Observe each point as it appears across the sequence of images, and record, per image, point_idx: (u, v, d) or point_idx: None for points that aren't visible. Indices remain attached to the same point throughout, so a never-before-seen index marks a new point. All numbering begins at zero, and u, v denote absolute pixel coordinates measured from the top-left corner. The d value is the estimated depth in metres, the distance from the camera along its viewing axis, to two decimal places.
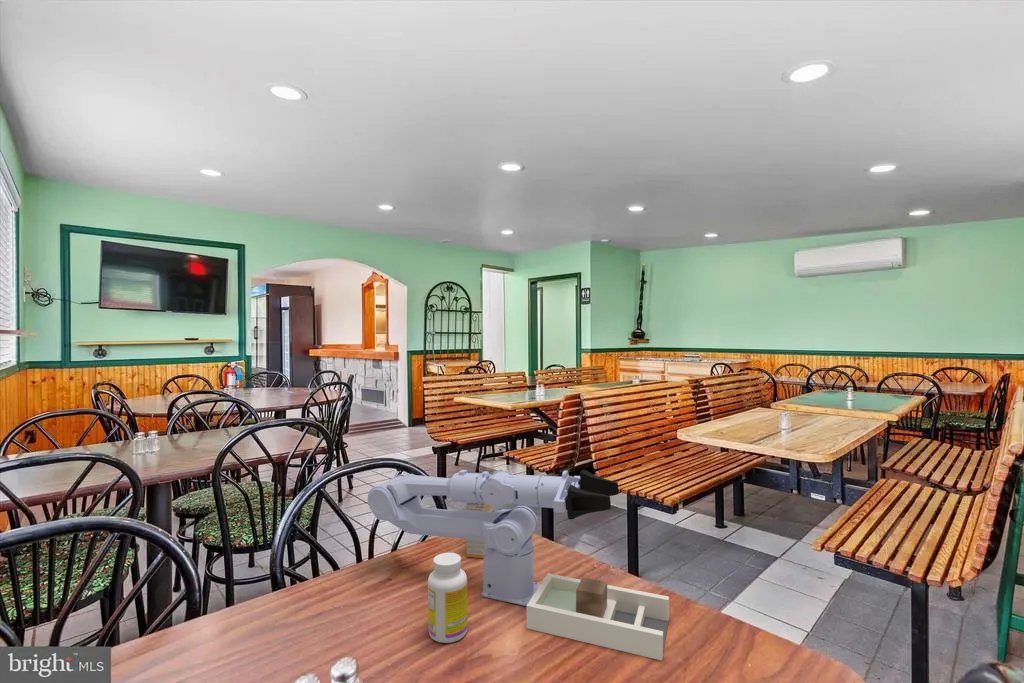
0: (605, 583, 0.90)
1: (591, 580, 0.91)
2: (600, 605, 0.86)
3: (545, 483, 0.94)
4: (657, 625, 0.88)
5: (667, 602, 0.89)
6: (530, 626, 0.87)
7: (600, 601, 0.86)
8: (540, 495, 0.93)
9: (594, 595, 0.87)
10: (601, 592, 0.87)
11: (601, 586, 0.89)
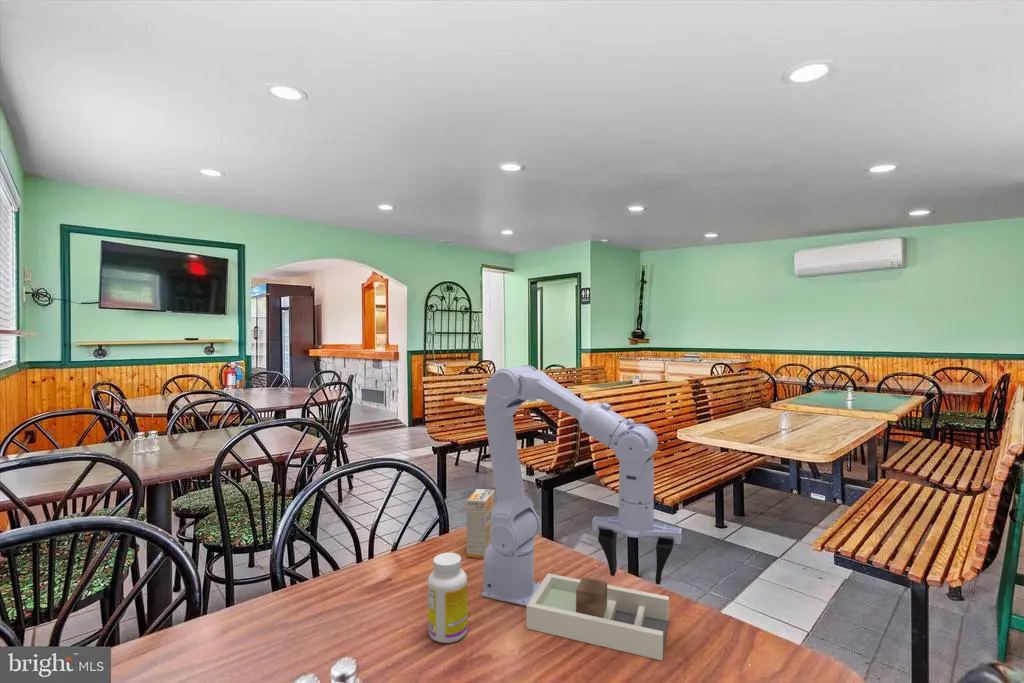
0: (605, 583, 0.90)
1: (591, 580, 0.91)
2: (600, 605, 0.86)
3: (623, 509, 0.84)
4: (657, 625, 0.88)
5: (667, 602, 0.89)
6: (530, 626, 0.87)
7: (600, 601, 0.86)
8: None
9: (594, 595, 0.87)
10: (601, 592, 0.87)
11: (601, 586, 0.89)
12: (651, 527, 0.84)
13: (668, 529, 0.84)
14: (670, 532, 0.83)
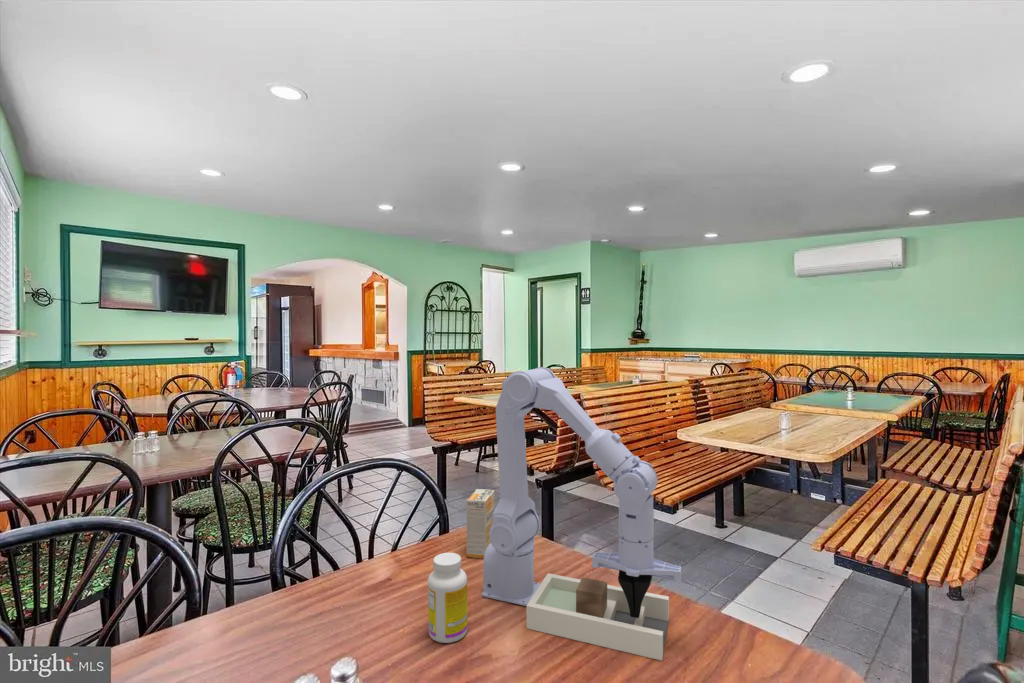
0: (605, 583, 0.90)
1: (591, 580, 0.91)
2: (600, 605, 0.86)
3: (622, 547, 0.84)
4: (657, 625, 0.88)
5: (667, 602, 0.89)
6: (530, 626, 0.87)
7: (600, 601, 0.86)
8: None
9: (594, 595, 0.87)
10: (601, 592, 0.87)
11: (601, 586, 0.89)
12: (651, 565, 0.84)
13: (668, 567, 0.84)
14: (670, 571, 0.83)
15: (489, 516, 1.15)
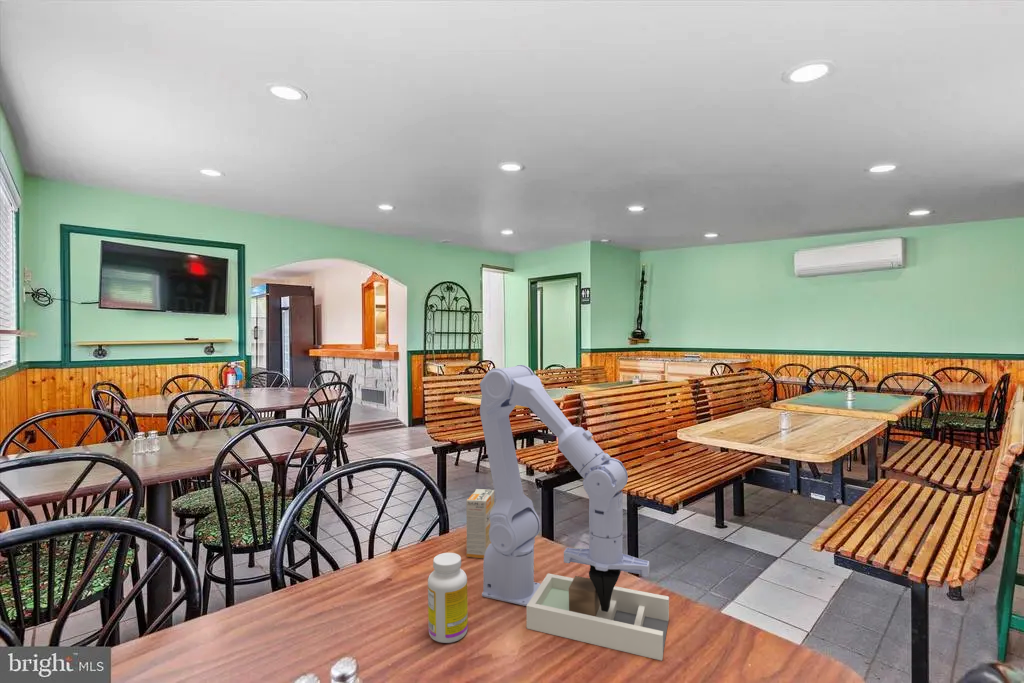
0: None
1: (584, 579, 0.91)
2: (593, 603, 0.87)
3: (592, 542, 0.86)
4: (657, 625, 0.88)
5: (667, 602, 0.89)
6: (530, 626, 0.87)
7: (593, 599, 0.87)
8: None
9: (587, 593, 0.87)
10: (593, 590, 0.87)
11: (593, 584, 0.89)
12: (620, 560, 0.86)
13: (636, 562, 0.86)
14: (638, 565, 0.85)
15: None
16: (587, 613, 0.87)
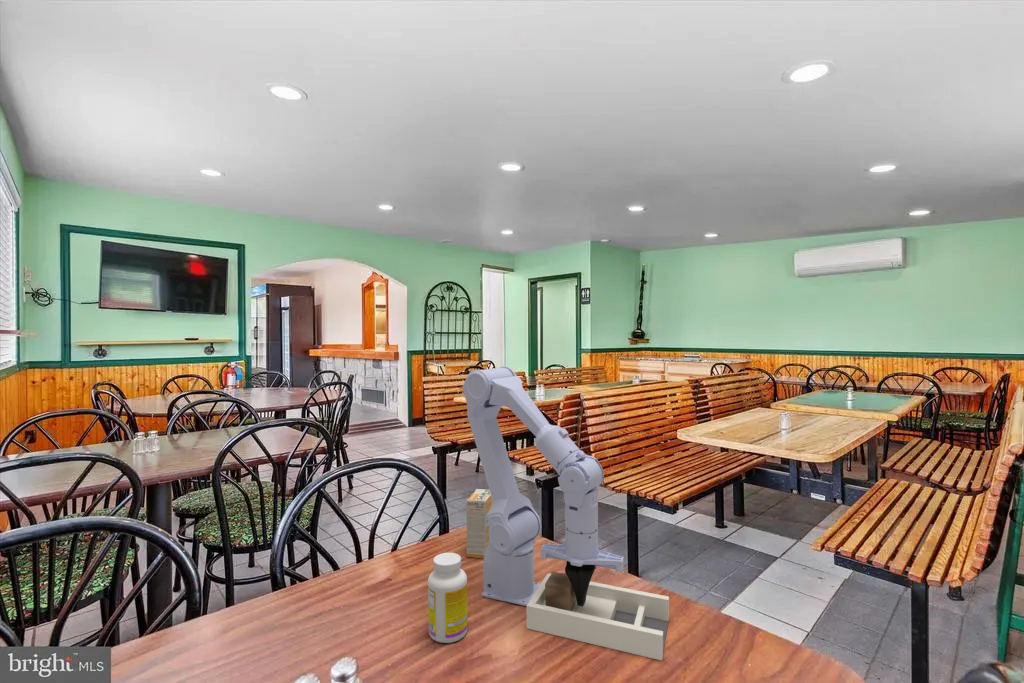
0: None
1: (561, 574, 0.93)
2: (568, 598, 0.88)
3: (568, 538, 0.88)
4: (657, 625, 0.88)
5: (667, 602, 0.89)
6: (530, 626, 0.87)
7: (568, 594, 0.88)
8: None
9: (563, 589, 0.89)
10: (569, 585, 0.89)
11: (569, 580, 0.91)
12: (595, 556, 0.88)
13: (611, 557, 0.87)
14: (612, 561, 0.86)
15: None
16: (563, 608, 0.89)
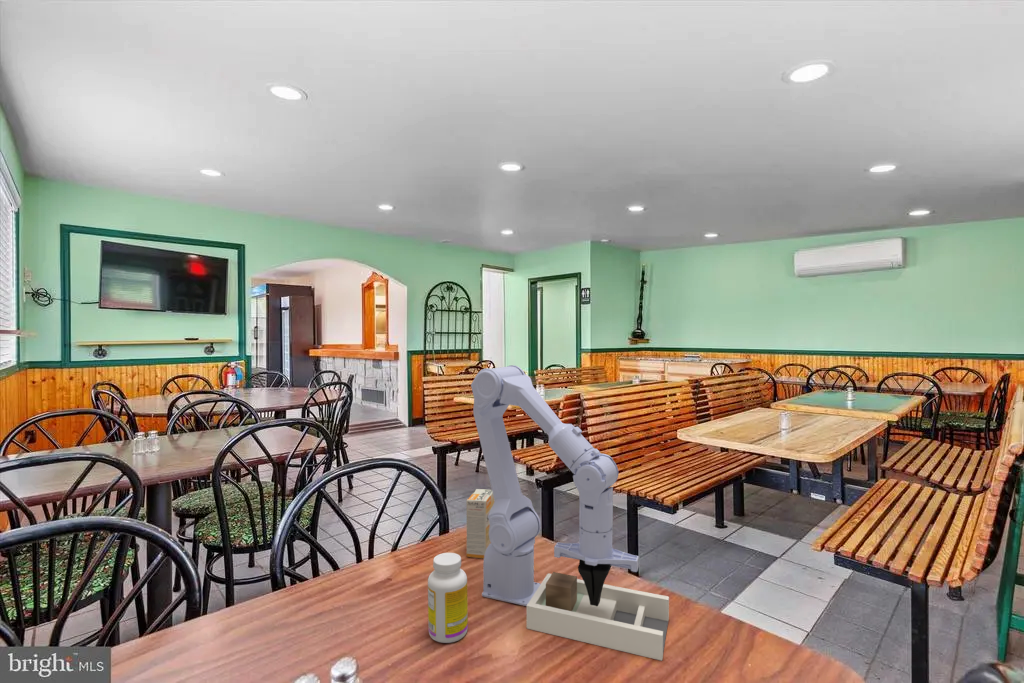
0: (575, 577, 0.92)
1: (561, 575, 0.93)
2: (569, 599, 0.88)
3: (582, 537, 0.87)
4: (657, 625, 0.88)
5: (667, 602, 0.89)
6: (530, 626, 0.87)
7: (569, 595, 0.88)
8: (579, 527, 0.89)
9: (563, 589, 0.88)
10: (569, 586, 0.89)
11: (570, 580, 0.91)
12: (609, 555, 0.87)
13: (626, 557, 0.86)
14: (627, 560, 0.85)
15: None
16: (563, 608, 0.89)
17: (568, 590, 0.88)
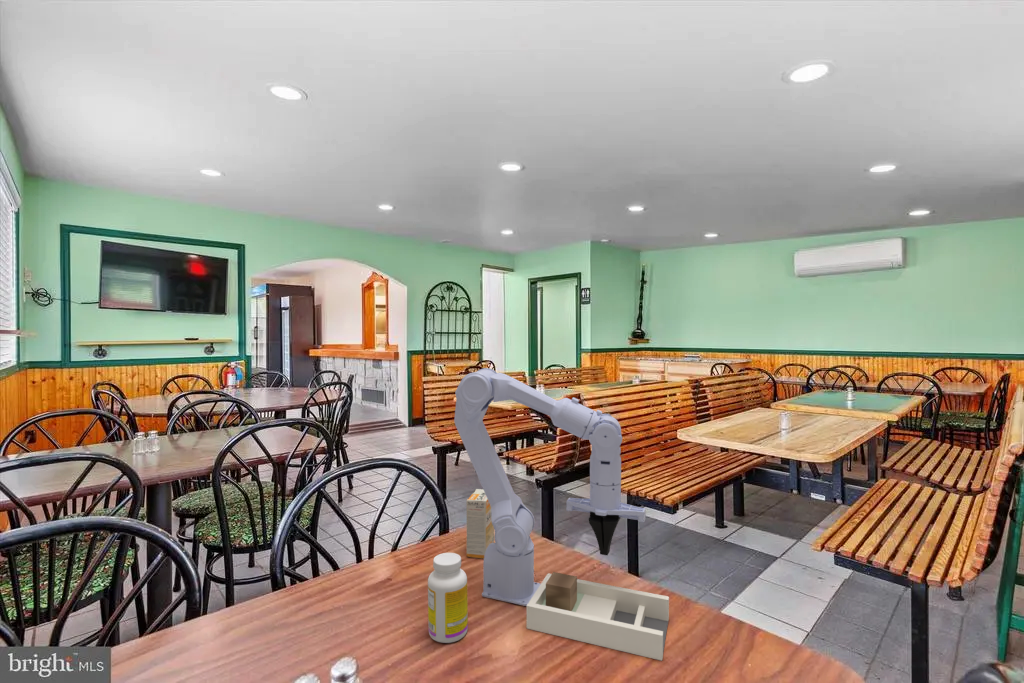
0: (575, 577, 0.92)
1: (561, 575, 0.93)
2: (569, 599, 0.88)
3: (592, 491, 0.93)
4: (657, 625, 0.88)
5: (667, 602, 0.89)
6: (530, 626, 0.87)
7: (569, 595, 0.88)
8: None
9: (563, 589, 0.88)
10: (569, 586, 0.89)
11: (570, 580, 0.91)
12: (618, 507, 0.93)
13: (633, 509, 0.93)
14: (634, 511, 0.92)
15: (489, 516, 1.15)
16: (563, 608, 0.89)
17: (568, 590, 0.88)
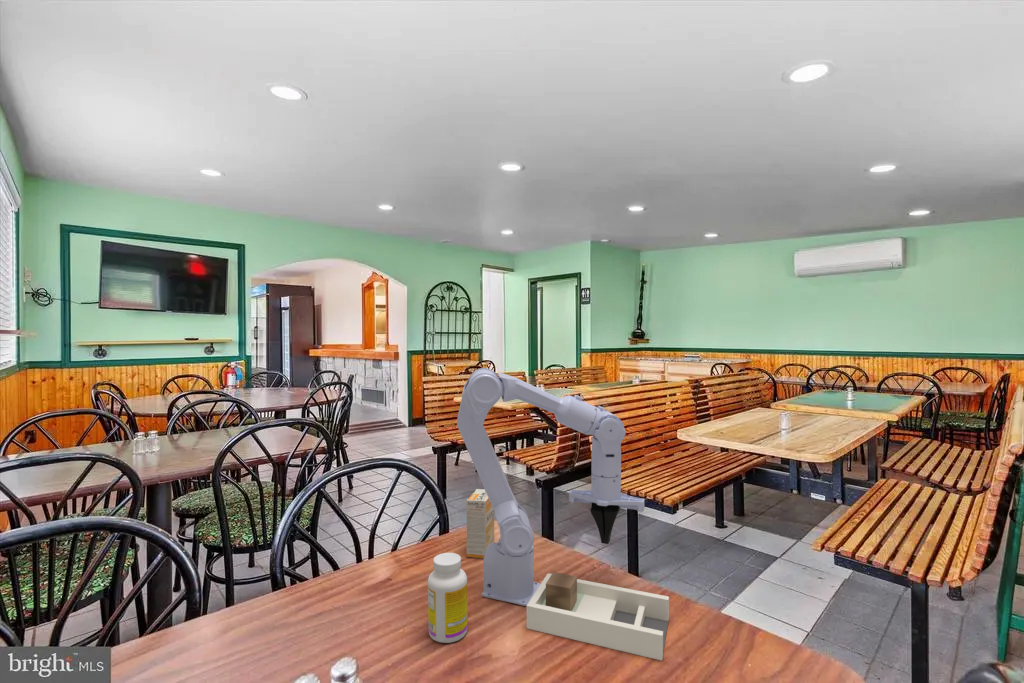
0: (575, 577, 0.92)
1: (561, 575, 0.93)
2: (569, 599, 0.88)
3: (594, 482, 0.98)
4: (657, 625, 0.88)
5: (667, 602, 0.89)
6: (530, 626, 0.87)
7: (569, 595, 0.88)
8: None
9: (563, 589, 0.88)
10: (569, 586, 0.89)
11: (570, 580, 0.91)
12: (618, 498, 0.98)
13: (633, 499, 0.98)
14: (634, 502, 0.96)
15: (489, 516, 1.15)
16: (563, 608, 0.89)
17: (568, 590, 0.88)
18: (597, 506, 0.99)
